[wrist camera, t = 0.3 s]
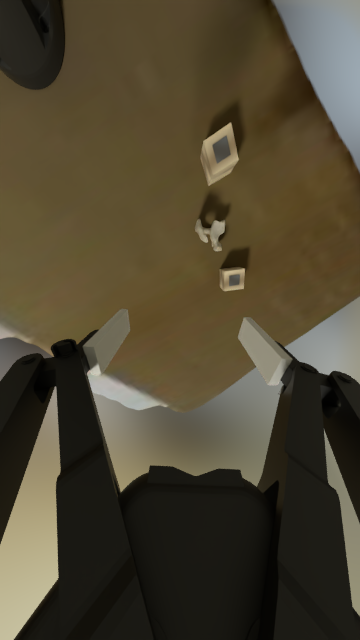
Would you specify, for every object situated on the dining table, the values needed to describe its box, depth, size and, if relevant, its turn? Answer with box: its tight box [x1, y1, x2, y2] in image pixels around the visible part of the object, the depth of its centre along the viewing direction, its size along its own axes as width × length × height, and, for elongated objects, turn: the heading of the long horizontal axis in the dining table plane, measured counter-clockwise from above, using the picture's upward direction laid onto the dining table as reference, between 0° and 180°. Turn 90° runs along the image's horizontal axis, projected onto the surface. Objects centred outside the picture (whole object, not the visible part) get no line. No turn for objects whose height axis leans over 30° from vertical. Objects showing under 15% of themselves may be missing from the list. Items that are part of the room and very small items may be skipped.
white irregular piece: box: [195, 219, 225, 251], centre depth 32 cm, size 9×6×10 cm
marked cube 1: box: [220, 267, 245, 291], centre depth 38 cm, size 5×5×5 cm
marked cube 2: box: [200, 123, 239, 186], centre depth 27 cm, size 5×5×5 cm
